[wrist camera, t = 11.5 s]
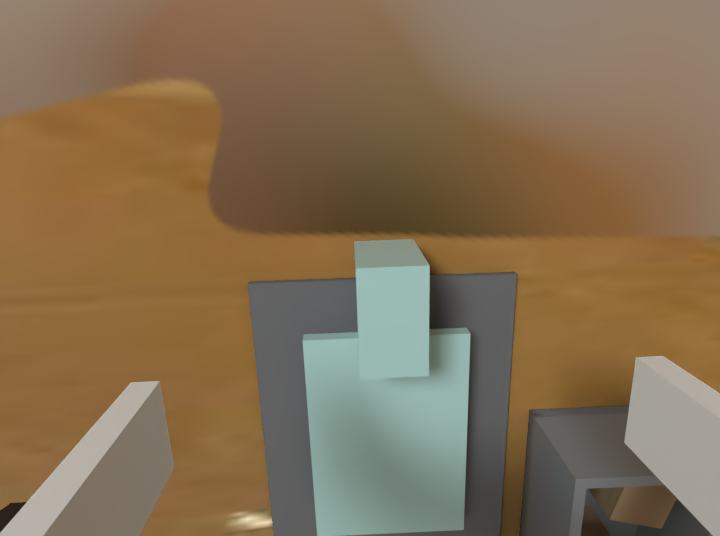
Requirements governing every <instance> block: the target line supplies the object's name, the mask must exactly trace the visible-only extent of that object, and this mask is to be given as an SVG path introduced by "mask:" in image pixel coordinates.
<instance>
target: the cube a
mask: <svg viewBox="0 0 720 536" xmlns="http://www.w3.org/2000/svg"><path fill="white" fill-rule="evenodd" d="M581 536H611V535H610V534H609V532H608V531H607V529H606V528H605V526H604V525H603V523H602V522H601V520H600V519H599V517H598V516H597V514H596V513H595V511H594V510H593V508H592V507H591V505H585V506H584V513H583V521H582V529H581Z"/></svg>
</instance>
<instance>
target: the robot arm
mask: <svg viewBox="0 0 720 536" xmlns="http://www.w3.org/2000/svg"><path fill="white" fill-rule="evenodd" d="M624 443H625V444H626V445H627V446H628V447H629V448H630V449H631V450H632V451H633V452H634V453H635V454H636V456H637V457H638V458H639V459H640V460H641V461H642V462H643V463H644V464H645V465H646V466H647V467H648V468H649V469H650V470H651V471H652V472H653V473H654V474H655V475H656V477H657V478H658V479H659V480H660V481H661V482H662V483H663V484H664V485H665V486H666V487H667V488H668V489H669V490H670V491H671V492H672V493H673V494H674V495H675V496H676V498H677V499H678V500H679V501H680V502H681V503H682V504H683V505H684V506H685V507H686V508H687V509H688V510H689V511H690V512H691V513H692V514H693V515H694V516H695V518H696V519H697V520H698V521H699V522H700V523H701V524H702V525H703V526H704V527H705V528H706V529H707V530H708V531H709V532H710V533H711V534H712V535H713V536H720V393H718V392H717V391H715V390H714V389H712V388H711V387H709V386H708V385H706V384H705V383H703V382H702V381H700V380H699V379H697V378H696V377H694V376H693V375H691V374H689V373H688V372H686V371H685V370H683V369H682V368H680V367H679V366H677V365H676V364H674V363H673V362H671V361H670V360H668V359H667V358H665V357H664V356H654V357H636V362H635V369H634V376H633V383H632V390H631V397H630V404H629V412H628V419H627V426H626V433H625V440H624ZM173 469H174V464H173V458H172V452H171V446H170V440H169V433H168V427H167V421H166V415H165V409H164V403H163V397H162V391H161V385H160V381H152V382H132V383H130V384H129V385H128V387H127V388H126V389H125V390H124V391H123V392H122V393H121V395H120V396H119V397H118V398H117V399H116V400H115V402H114V403H113V404H112V405H111V406H110V407H109V408H108V410H107V411H106V412H105V413H104V414H103V415H102V416H101V418H100V419H99V420H98V421H97V422H96V423H95V425H94V426H93V427H92V428H91V429H90V430H89V431H88V433H87V434H86V435H85V436H84V437H83V438H82V439H81V441H80V442H79V443H78V444H77V445H76V446H75V447H74V449H73V450H72V451H71V452H70V453H69V454H68V456H67V457H66V458H65V459H64V460H63V461H62V462H61V464H60V465H59V466H58V467H57V468H56V469H55V470H54V472H53V473H52V474H51V475H50V476H49V477H48V478H47V480H46V481H45V482H44V483H43V484H42V485H41V487H40V488H39V489H38V490H37V491H36V492H35V493H34V495H33V496H32V497H31V498H30V499H29V500H28V501H27V502H22V503H10V504H9V505H8V506H6V507H5V508H3V509H2V510H1V511H0V536H140V534H141V532H142V530H143V528H144V526H145V524H146V522H147V520H148V518H149V516H150V514H151V512H152V510H153V508H154V506H155V504H156V503H157V501H158V499H159V497H160V495H161V493H162V491H163V489H164V487H165V485H166V483H167V481H168V479H169V477H170V475H171V473H172V471H173Z"/></svg>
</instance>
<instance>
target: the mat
mask: <svg viewBox="0 0 720 536" xmlns="http://www.w3.org/2000/svg"><path fill="white" fill-rule="evenodd" d="M516 282H517V274H516V273H515V272H499V273H472V274H445V275H430V294H429V329H445V328H467V329H468V330H469V332H470V334H471V335H470V364H469V392H468V421H467V450H466V479H465V507H464V530H453V531H432V532H410V533H389V534H368V535H346V536H500V526H501V510H502V495H503V480H504V465H505V449H506V434H507V419H508V404H509V388H510V373H511V358H512V343H513V327H514V312H515V297H516ZM248 290H249V300H250V310H251V319H252V329H253V338H254V348H255V358H256V367H257V377H258V387H259V396H260V406H261V415H262V425H263V435H264V444H265V454H266V464H267V473H268V483H269V492H270V502H271V512H272V521H273V531H274V536H317V527H316V514H315V500H314V487H313V474H312V460H311V447H310V434H309V421H308V407H307V394H306V381H305V367H304V354H303V336H304V334H323V333H347V332H358V325H357V299H356V278H337V279H310V280H283V281H256V282H249V283H248Z"/></svg>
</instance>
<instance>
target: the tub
mask: <svg viewBox="0 0 720 536" xmlns="http://www.w3.org/2000/svg"><path fill="white" fill-rule="evenodd" d="M628 412H629V406H612V407H587V408H563V409H539V410H530V411H529V424H528V436H527V449H526V461H525V474H524V486H523V499H522V511H521V524H520V536H581V529H582V521H583V513H584V506H585V505H591V507H592V508H593V510H594V511H595V513H596V514H597V516H598V517H599V519H600V520H601V522H602V523H603V525H604V526H605V528H606V529H607V531H608V532H609V534H610V535H611V536H713V535H712V534H711V533H710V532H709V531H708V530H707V529H706V528H705V527H704V526H703V525H702V524H701V523H700V522H699V521H698V520H697V519H696V518H695V516H694V515H693V514H692V513H691V512H690V511H689V510H688V509H687V508H686V507H685V506H684V505H683V504H682V503H681V502H680V501H679V500H678V499H676V501H675V503H674V505H673V507H672V509H671V511H670V513H669V515H668V517H667V519H666V521H665V523H664V525H663V527H662V529H659V528H653V527H648V526H642V525H637V524H631V523H626V522H620V521H615V520H609V518H608V517H607V515H606V514H605V512H604V511H603V509H602V508H601V506H600V505H599V504H598V502H597V501H596V499H595V498H594V496H593V495H592V493H591V492H590V490H589V489H592V488H615V487H638V486H661V485H664V484H663V483H662V482H661V481H660V480H659V479H658V478H657V477H656V475H655V474H654V473H653V472H652V471H651V470H650V469H649V468H648V467H647V466H646V465H645V464H644V463H643V462H642V461H641V460H640V459H639V458H638V457H637V456H636V454H635V453H634V452H633V451H632V450H631V449H630V448H629V447H628V446H627V445H626V444H625V443H624V440H625V433H626V426H627V419H628Z"/></svg>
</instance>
